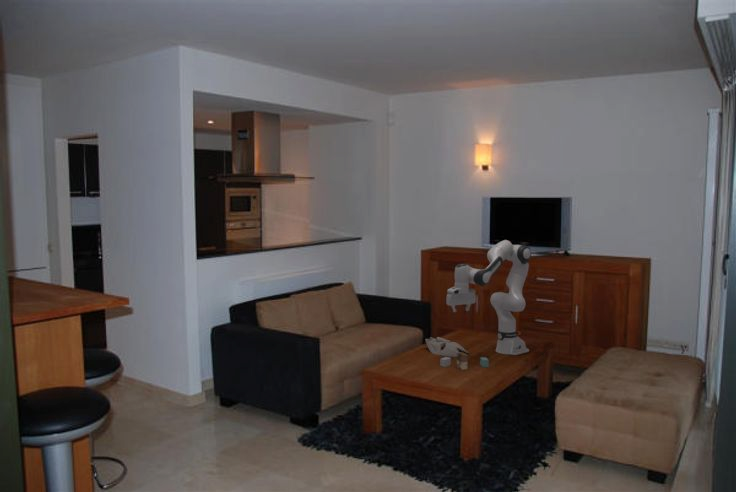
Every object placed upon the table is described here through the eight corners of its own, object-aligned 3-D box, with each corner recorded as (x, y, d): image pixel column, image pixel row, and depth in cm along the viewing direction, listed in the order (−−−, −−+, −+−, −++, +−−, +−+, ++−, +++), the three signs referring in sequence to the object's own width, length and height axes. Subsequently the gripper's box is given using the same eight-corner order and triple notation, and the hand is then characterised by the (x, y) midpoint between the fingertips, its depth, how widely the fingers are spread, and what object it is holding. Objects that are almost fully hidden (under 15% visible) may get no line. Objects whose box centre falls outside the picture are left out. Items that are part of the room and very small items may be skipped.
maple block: (456, 367, 373) (456, 359, 373) (461, 366, 375) (461, 359, 374) (462, 369, 368) (462, 362, 367) (467, 369, 369) (467, 361, 369)
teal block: (480, 364, 379) (480, 357, 378) (485, 364, 379) (485, 357, 378) (482, 367, 373) (483, 360, 372) (488, 367, 373) (488, 360, 373)
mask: (436, 331, 424) (473, 340, 404) (435, 344, 425) (472, 353, 405) (418, 337, 409) (455, 346, 389) (418, 350, 410) (455, 359, 390)
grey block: (446, 363, 380) (446, 356, 379) (450, 365, 377) (450, 357, 377) (440, 366, 376) (440, 358, 375) (444, 367, 373) (444, 360, 373)
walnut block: (457, 359, 373) (457, 352, 372) (461, 359, 374) (461, 351, 374) (462, 362, 367) (462, 355, 367) (467, 361, 369) (467, 354, 368)
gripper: (472, 287, 391) (471, 309, 392) (445, 290, 382) (444, 311, 384) (478, 289, 385) (477, 310, 387) (450, 291, 377) (450, 313, 378)
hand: (461, 311), depth 385 cm, fingers open, 8 cm apart
